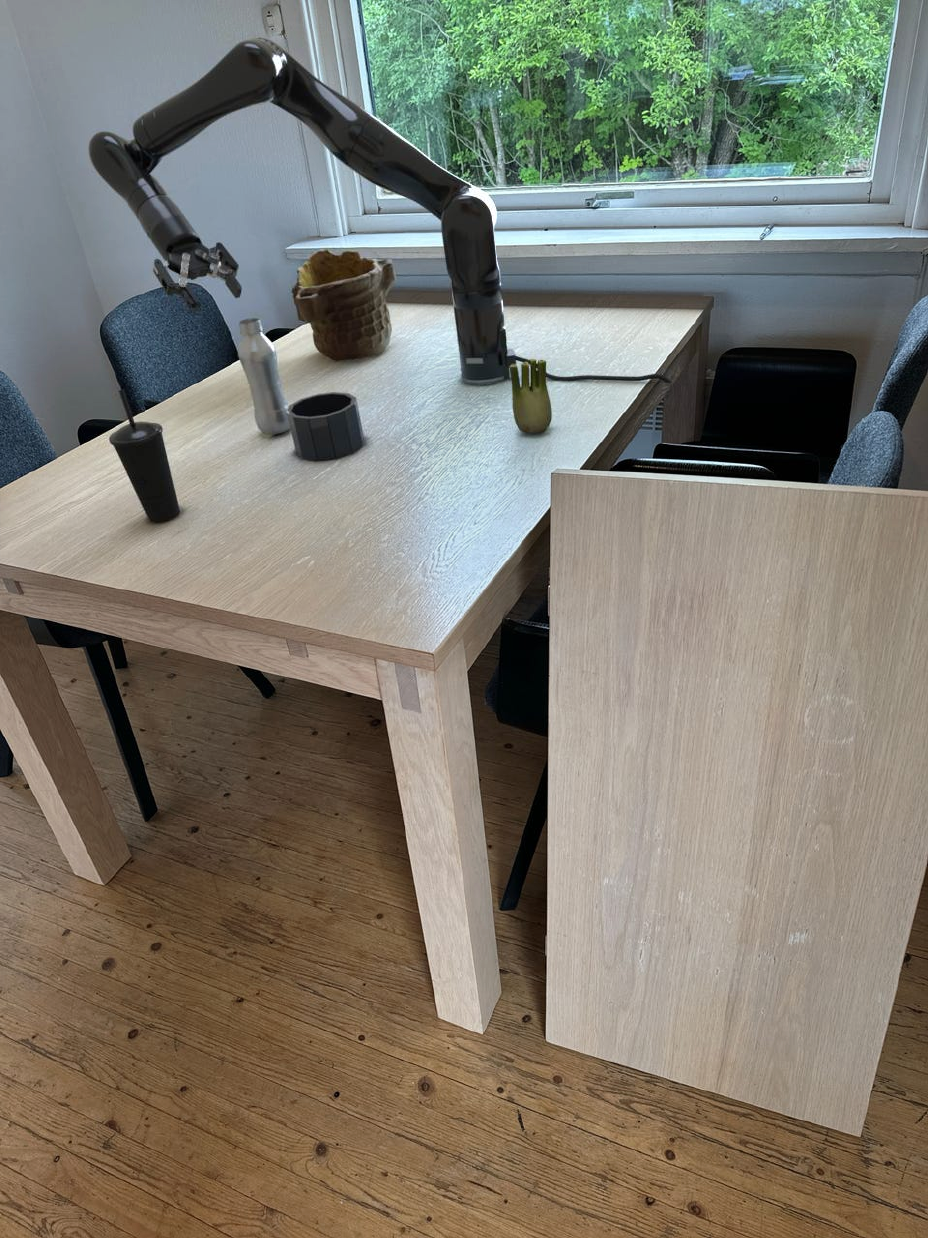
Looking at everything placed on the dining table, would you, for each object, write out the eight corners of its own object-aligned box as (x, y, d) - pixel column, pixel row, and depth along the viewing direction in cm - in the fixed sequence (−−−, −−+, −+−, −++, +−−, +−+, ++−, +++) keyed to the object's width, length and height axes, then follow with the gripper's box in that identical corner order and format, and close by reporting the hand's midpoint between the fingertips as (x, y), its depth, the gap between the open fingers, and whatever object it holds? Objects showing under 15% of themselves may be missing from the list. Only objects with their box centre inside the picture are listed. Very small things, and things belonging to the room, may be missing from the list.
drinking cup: (145, 507, 138) (101, 385, 127) (192, 501, 138) (153, 378, 127) (134, 530, 132) (87, 403, 121) (184, 523, 132) (141, 395, 121)
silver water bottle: (287, 438, 156) (260, 325, 145) (253, 439, 158) (223, 327, 147) (300, 424, 161) (274, 314, 150) (266, 425, 163) (238, 316, 152)
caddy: (366, 429, 155) (358, 388, 151) (360, 456, 146) (352, 413, 141) (302, 437, 156) (292, 396, 152) (292, 464, 146) (282, 421, 142)
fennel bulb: (513, 436, 145) (506, 365, 138) (522, 424, 148) (516, 355, 142) (546, 437, 143) (541, 365, 136) (555, 426, 146) (550, 355, 140)
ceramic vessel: (400, 330, 175) (309, 231, 169) (332, 402, 190) (245, 314, 183) (437, 296, 192) (355, 205, 186) (371, 365, 207) (294, 283, 201)
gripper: (134, 223, 150) (186, 298, 149) (206, 205, 157) (256, 276, 156) (130, 253, 156) (181, 325, 155) (200, 235, 164) (248, 304, 163)
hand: (218, 301), depth 156 cm, fingers open, 8 cm apart
